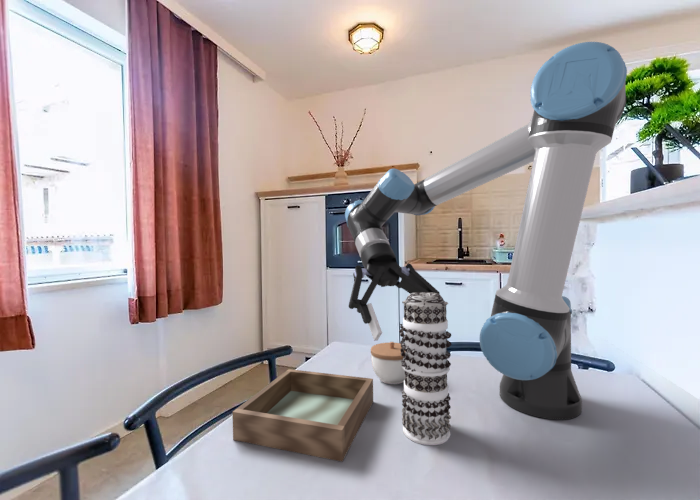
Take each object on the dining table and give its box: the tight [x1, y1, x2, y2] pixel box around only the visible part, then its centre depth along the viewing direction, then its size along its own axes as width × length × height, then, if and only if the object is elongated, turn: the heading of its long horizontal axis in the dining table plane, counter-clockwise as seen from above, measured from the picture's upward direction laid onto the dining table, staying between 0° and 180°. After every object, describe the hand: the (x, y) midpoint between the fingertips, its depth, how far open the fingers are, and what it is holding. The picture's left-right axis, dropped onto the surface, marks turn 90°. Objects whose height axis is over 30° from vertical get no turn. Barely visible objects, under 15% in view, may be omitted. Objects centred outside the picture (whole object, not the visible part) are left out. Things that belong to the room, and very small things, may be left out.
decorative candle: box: [398, 292, 452, 446], centre depth 59 cm, size 9×9×25 cm
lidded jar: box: [370, 341, 405, 385], centre depth 83 cm, size 11×11×9 cm
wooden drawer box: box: [232, 368, 374, 462], centre depth 64 cm, size 20×20×5 cm
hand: (410, 332), depth 63 cm, fingers open, 13 cm apart
